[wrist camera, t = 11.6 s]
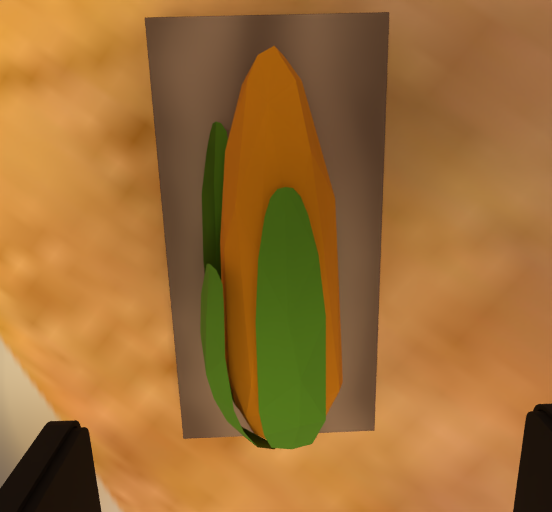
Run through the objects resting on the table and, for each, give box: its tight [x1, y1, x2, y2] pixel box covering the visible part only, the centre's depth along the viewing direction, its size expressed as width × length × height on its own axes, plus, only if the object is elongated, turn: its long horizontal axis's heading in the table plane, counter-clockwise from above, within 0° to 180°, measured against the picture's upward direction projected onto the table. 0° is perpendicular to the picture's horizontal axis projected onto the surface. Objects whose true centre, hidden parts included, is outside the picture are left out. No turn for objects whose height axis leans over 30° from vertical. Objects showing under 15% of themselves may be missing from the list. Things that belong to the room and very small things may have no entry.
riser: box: [145, 12, 389, 439], centre depth 29 cm, size 12×24×4 cm, turn 2°
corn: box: [200, 46, 343, 449], centre depth 24 cm, size 7×8×20 cm
